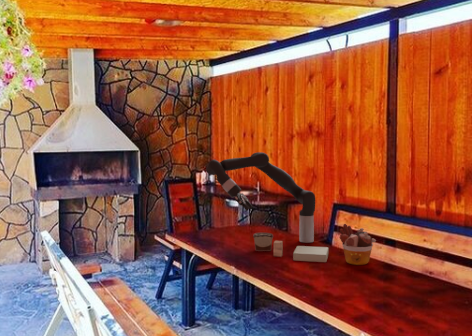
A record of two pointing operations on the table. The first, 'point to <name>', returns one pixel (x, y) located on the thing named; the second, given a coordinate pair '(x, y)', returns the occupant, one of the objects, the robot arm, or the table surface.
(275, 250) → the birch block
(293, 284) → the table surface
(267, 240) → the food container
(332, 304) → the table surface
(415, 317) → the table surface
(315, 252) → the base board
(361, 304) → the table surface
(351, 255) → the bucket of meat
